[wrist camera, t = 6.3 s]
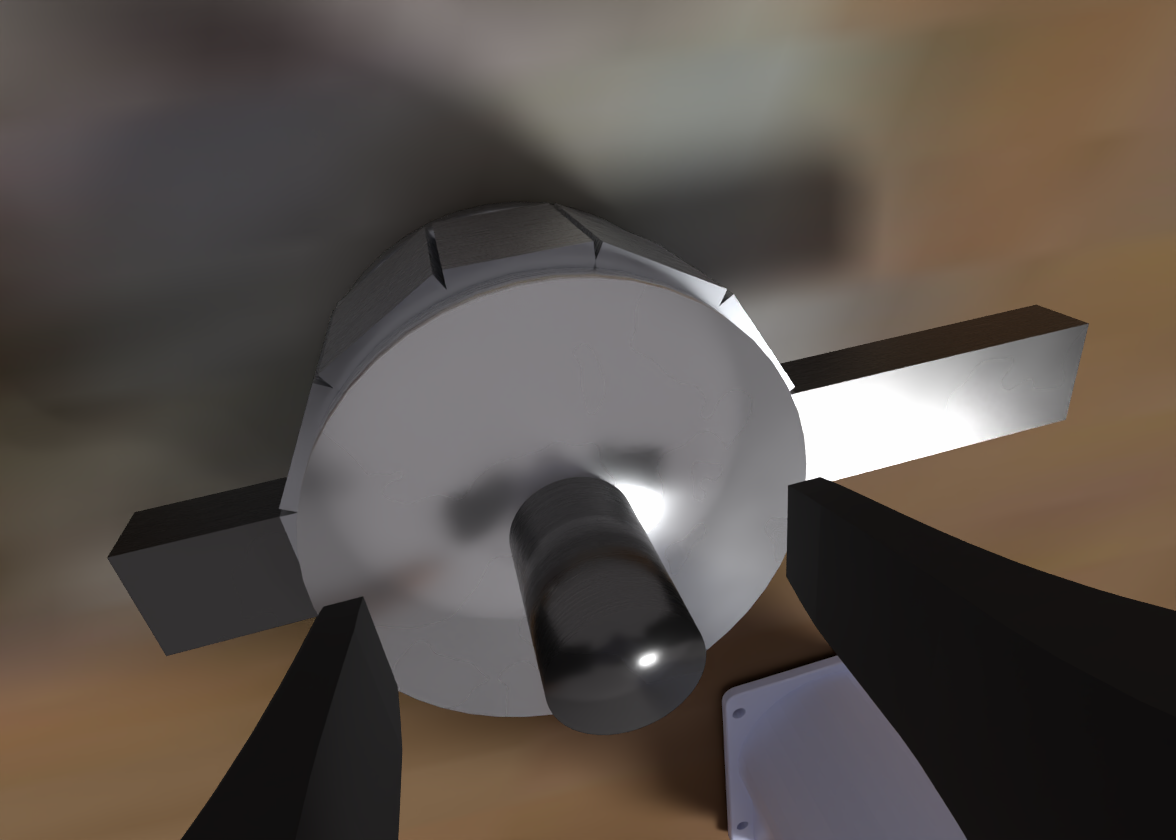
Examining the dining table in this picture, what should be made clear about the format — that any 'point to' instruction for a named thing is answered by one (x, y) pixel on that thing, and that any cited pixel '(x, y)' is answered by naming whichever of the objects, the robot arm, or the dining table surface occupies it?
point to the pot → (579, 239)
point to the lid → (554, 495)
